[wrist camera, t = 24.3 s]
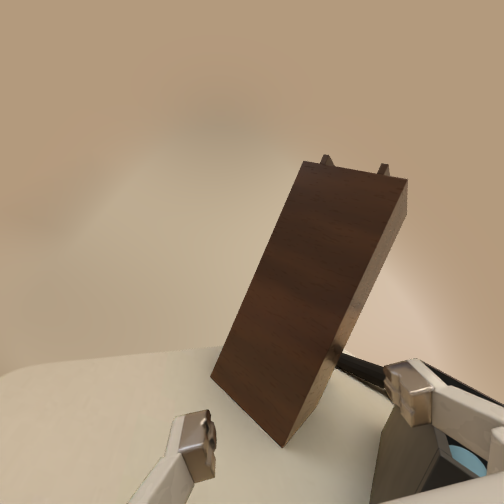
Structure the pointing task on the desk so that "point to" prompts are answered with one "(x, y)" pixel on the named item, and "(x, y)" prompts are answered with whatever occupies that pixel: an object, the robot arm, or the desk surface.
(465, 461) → the bottle
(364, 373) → the microphone
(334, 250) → the stand
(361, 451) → the desk surface
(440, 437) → the bin
